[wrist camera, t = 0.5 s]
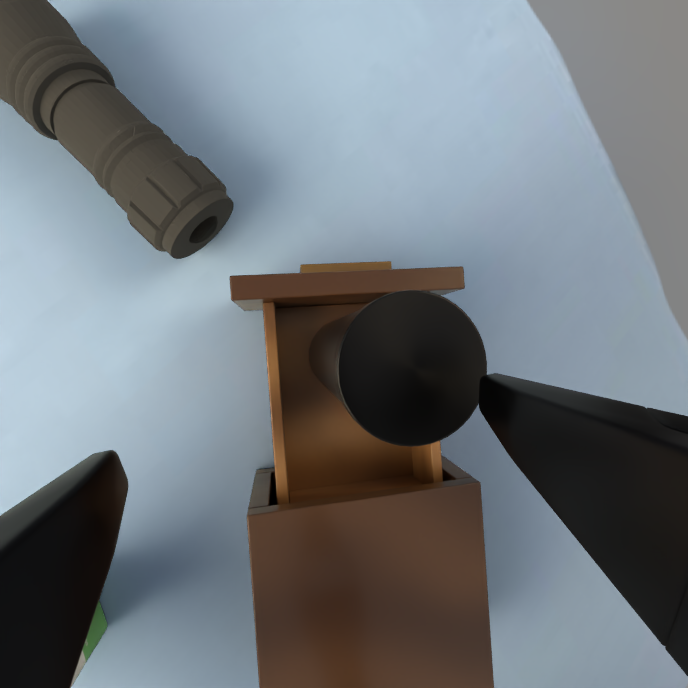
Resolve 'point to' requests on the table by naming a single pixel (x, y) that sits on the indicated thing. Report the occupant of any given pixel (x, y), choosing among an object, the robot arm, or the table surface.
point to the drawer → (313, 396)
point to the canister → (403, 366)
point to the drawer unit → (371, 587)
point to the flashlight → (106, 130)
